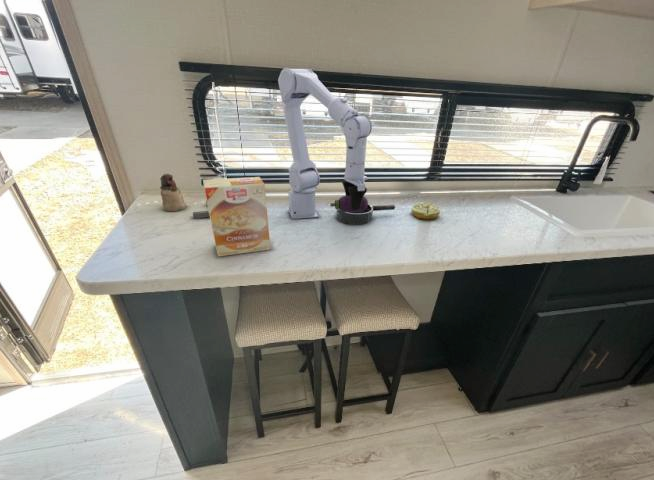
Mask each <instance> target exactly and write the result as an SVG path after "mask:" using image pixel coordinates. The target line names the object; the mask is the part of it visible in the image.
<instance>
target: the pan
mask: <svg viewBox="0 0 654 480" xmlns="http://www.w3.org/2000/svg"><path fill="white" fill-rule="evenodd" d="M372 206H373V205H371V204H369V203H368V206H367V208H366V209H365V210H364V211H358V212H342V211H341V210H340V209H336V218H337V220H338V221H340V222H341V223H344V224H349V225H365V224H369V223H370V222H371V221H372V219H373V214H374V211H373V207H372Z"/></svg>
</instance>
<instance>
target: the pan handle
mask: <svg viewBox="0 0 654 480" xmlns="http://www.w3.org/2000/svg"><path fill="white" fill-rule="evenodd" d="M371 206H372V207H373V212H376V211H393V210H395V209H396V205H395V204H381V205H380V204H379V205H371Z"/></svg>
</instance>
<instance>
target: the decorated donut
mask: <svg viewBox="0 0 654 480" xmlns="http://www.w3.org/2000/svg"><path fill="white" fill-rule="evenodd" d="M410 212H411V213H412V214H413V216H415V217H416V218H417V219H420V220H434V219H436V218H437V217H438V216H439V215H440V214H441V209H440V207H439V206H438V205H436V204H434V203H430V202H427V201H425V202H424V201H422V202H417V203H415V204H413V205H412V207H411V209H410Z"/></svg>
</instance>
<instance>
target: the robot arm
mask: <svg viewBox="0 0 654 480" xmlns="http://www.w3.org/2000/svg"><path fill="white" fill-rule="evenodd" d="M277 82H278V87H279V92H280V93H279V94H280V98H281V106H282V111H283V115H284V122H285V126H286V130H287V131H286V132H287V135H288V140H289V146H290V151H291V155H292V160H293V162H292V164H291V165H290V167H289V168H288V173H289V175H288V181H289V182H288V183H289V185H290V188H291V190H288V193H287V194H288V197H287V198H288V212H289V215H290V218H291V219H292V220H297V219H313V218H314V219H315V218H319V215H318V213H317V211H316V190H317V188H318V186H319V185H320V182H321V177H320V173H319V171H318V169H317V165H316V163H314V162H313V161H312V160H311V159H310V154H309V148H308V143H307V137H306V131H305V126H304V122H303V120H304V119H303V116H302V115H303V114H302V110H301V106H302V104H303V102H304V101H305V100H306V99H307V98H308V97H309V96H310V95H311V96H312V97H313V98H314V99H316V100H317V101H318V102H319V103H320V104H322V105H323V106H324V107H325V108H326V109H327V114H328V116H329V117H330V118H331V119H332V120H333V121H334V122H335V123H336V124H337V125H338V126H339V127H340V128H341V129H342V134H343V136H344V137H345V145H346V147H345V148H346V149H345V151H346V152H345V170H344V179H343V180H341V183H342V186H343V189H344V194H345V196H350V197H351V207H352V210H359V207H360V204H361V201H362V198H363V196H365V195H366V193H367V191H368V188H367V187H366V183H365V181H367V180H368V176H367V175H365V168H366V155H367V144H368V143H367V142H368V137H370V135H371V133H372V131H373V130H372V128H373V125H372V124H373V123H372V122H371V119H370V118H369V117H368V115H367V114H360V113H359V111H358V110H357V109H354V108H353V107H352V106H351V105H350V104H349V103H348V99H347V98H345V97H335V95H333V94H332V93H331V91H330V90H329V89H328V88H327V87H326V86H325V85H324V84H323V82H321V80H319V77H318V75H317V74H316V73H315V72H314V71H313V70H312V69H310V68H289V67H284V68H283V69H282V70H281V71H280V73H279V76H278V79H277Z"/></svg>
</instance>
